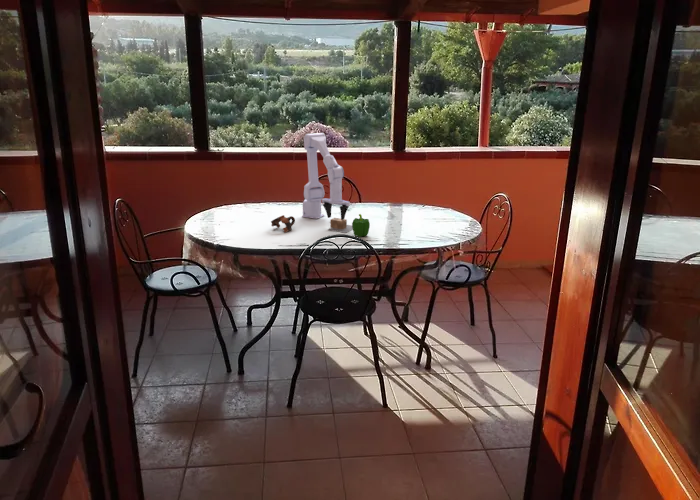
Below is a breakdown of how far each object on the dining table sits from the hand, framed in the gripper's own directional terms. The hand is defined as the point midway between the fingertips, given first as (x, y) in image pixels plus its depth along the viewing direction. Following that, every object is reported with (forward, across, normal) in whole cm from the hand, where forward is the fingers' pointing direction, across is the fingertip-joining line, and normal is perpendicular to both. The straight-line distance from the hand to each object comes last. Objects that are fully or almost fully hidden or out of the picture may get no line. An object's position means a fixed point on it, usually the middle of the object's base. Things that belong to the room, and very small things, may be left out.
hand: (336, 218), depth 272 cm
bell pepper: (+5, +17, -6) cm, 19 cm away
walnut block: (+2, -2, 0) cm, 3 cm away
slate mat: (+5, +4, 0) cm, 6 cm away
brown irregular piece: (+5, -21, -16) cm, 26 cm away
